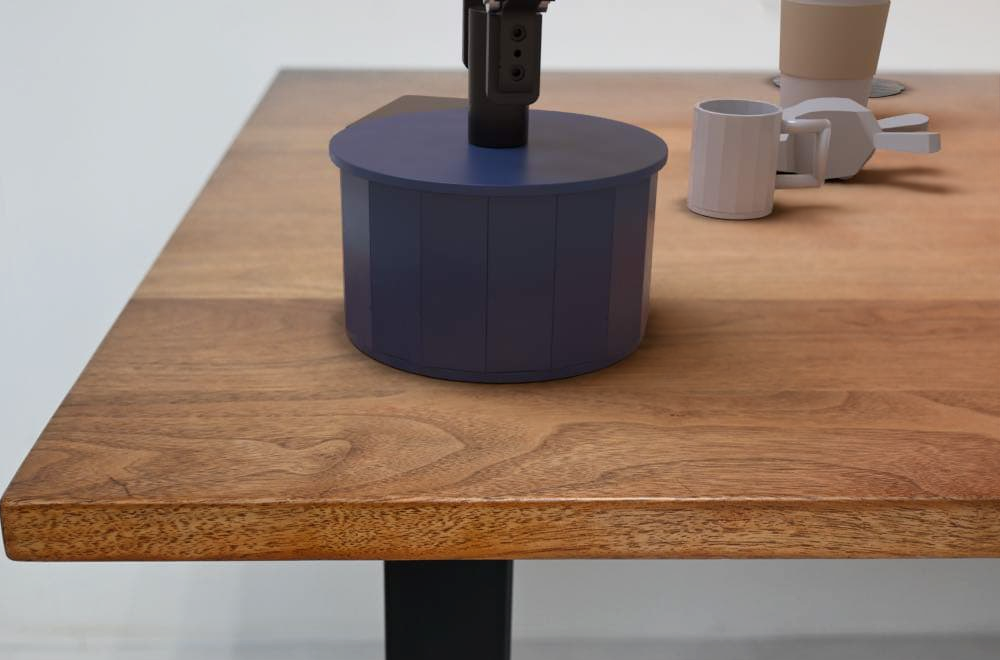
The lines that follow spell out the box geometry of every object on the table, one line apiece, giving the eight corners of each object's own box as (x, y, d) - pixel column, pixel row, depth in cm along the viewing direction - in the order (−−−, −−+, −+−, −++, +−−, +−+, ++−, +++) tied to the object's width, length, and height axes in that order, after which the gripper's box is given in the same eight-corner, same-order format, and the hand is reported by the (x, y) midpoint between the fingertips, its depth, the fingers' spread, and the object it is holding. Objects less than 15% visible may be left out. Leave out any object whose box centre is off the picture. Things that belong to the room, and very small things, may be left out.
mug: (700, 220, 78) (709, 116, 76) (677, 197, 83) (684, 99, 81) (837, 216, 79) (850, 114, 77) (805, 194, 84) (817, 97, 82)
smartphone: (402, 103, 111) (340, 138, 98) (402, 93, 111) (340, 127, 98) (483, 108, 109) (431, 144, 96) (483, 98, 109) (431, 133, 96)
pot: (607, 270, 69) (615, 117, 66) (680, 376, 56) (696, 189, 52) (340, 279, 67) (335, 122, 64) (350, 390, 54) (345, 198, 51)
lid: (622, 126, 66) (629, -13, 64) (710, 206, 52) (725, 31, 49) (326, 131, 65) (321, -11, 62) (333, 216, 50) (327, 35, 48)
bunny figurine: (712, 99, 93) (925, 83, 90) (714, 166, 95) (923, 153, 92) (710, 125, 85) (946, 109, 81) (713, 199, 87) (943, 186, 83)
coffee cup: (897, 130, 102) (925, -63, 97) (795, 135, 101) (817, -62, 95) (843, 108, 110) (866, -71, 105) (748, 112, 109) (765, -71, 103)
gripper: (640, -338, 45) (614, 117, 51) (563, -299, 58) (550, 59, 64) (430, -343, 44) (430, 119, 50) (401, -303, 57) (403, 60, 63)
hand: (497, 85), depth 57 cm, fingers open, 8 cm apart
